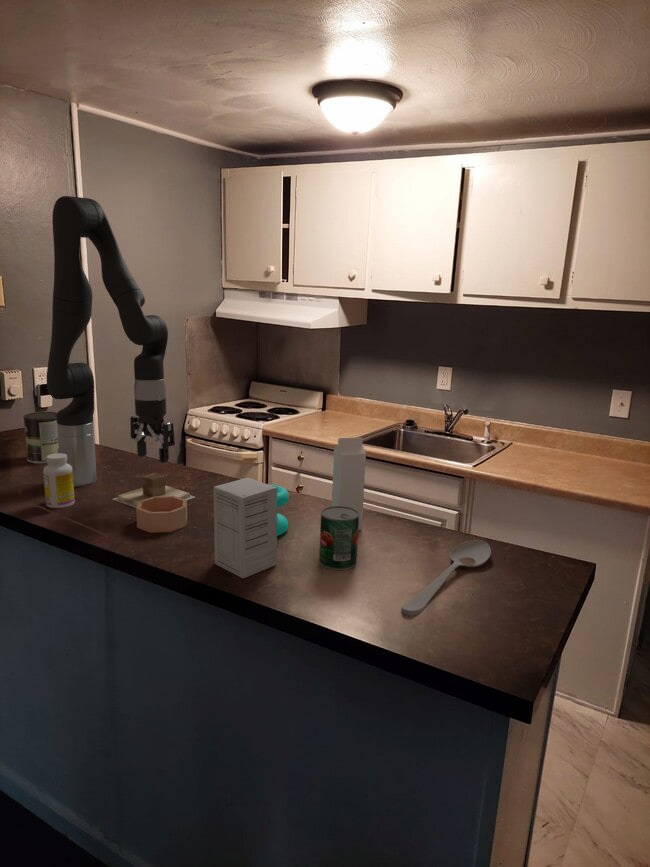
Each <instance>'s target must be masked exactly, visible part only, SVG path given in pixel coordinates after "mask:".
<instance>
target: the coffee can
mask: <svg viewBox="0 0 650 867" xmlns="http://www.w3.org/2000/svg"><path fill="white" fill-rule="evenodd" d="M57 413H58V412H56V411H55V412H54V411H37V412H30V413H29V412H28V413H26V414H25V415H23V416H22V417H23V423H24V426H23V427H24V433H25V437H24V438H25V445H26V458H27V459H26V460H27V462H28V463H31V464H36V465H37V464H39V465H42V464H43V465H44V464H48V463H47V461H46V457H47V456H48V455H51V454H58V448H59V446H58V432H57V420H56V415H57Z"/></svg>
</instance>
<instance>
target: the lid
mask: <svg viewBox="0 0 650 867" xmlns="http://www.w3.org/2000/svg"><path fill="white" fill-rule="evenodd" d="M141 477H142V478H141V479H142V480H141V481H142V487H140V488H136V489H134V490H130V491H128V492H124V493H120V494H117V497H118V499H119V500H122V501H125V502H128V503H130V504H133V505H136V506H137V505H138V503H139V501H142V500H145V499H148V498H151V497H154V496H176V497H179V498H182V499H186V498H189V497H190V495H191V493H190V492H188V491H187V492H186V491H184V490H181V489H178V488H174V487H172V486H170V485H169V486H168V485H167V484H166V476H165V475H163V474H160V473H157V472H153V473H149V474H146V475H143V476H141Z"/></svg>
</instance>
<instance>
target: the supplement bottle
mask: <svg viewBox="0 0 650 867" xmlns="http://www.w3.org/2000/svg"><path fill="white" fill-rule="evenodd" d="M46 461H47V463H46V464H47V465H45V466H44V467H43V470H42V473H43V486H44V495H45V496H44V497H45V506H46V507H48V508H51V509H62V508H68V507H70V506H72V505H74V504H75V499H76V498H75V497H76V496H75V487H74V485H73V471H72V467H71V465H69V464H67V462H66V461H67V455H66V454H61V453H58V454H51V455H48V456H47V457H46Z"/></svg>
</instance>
